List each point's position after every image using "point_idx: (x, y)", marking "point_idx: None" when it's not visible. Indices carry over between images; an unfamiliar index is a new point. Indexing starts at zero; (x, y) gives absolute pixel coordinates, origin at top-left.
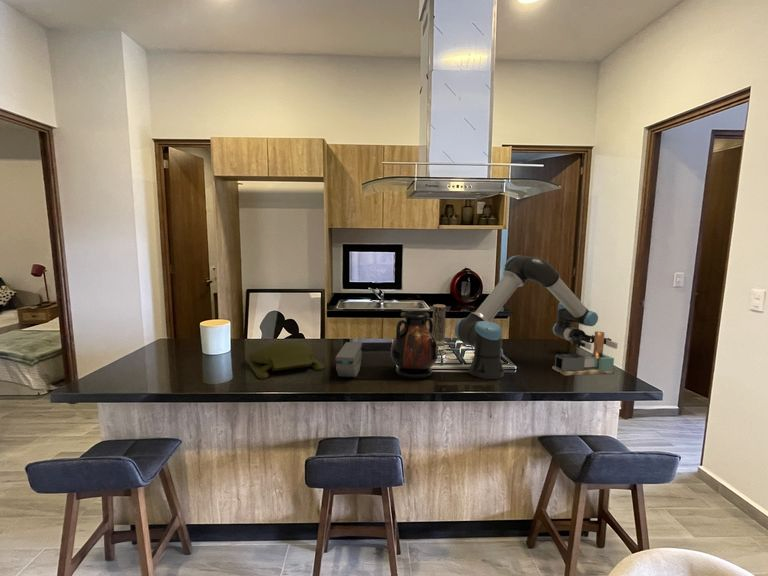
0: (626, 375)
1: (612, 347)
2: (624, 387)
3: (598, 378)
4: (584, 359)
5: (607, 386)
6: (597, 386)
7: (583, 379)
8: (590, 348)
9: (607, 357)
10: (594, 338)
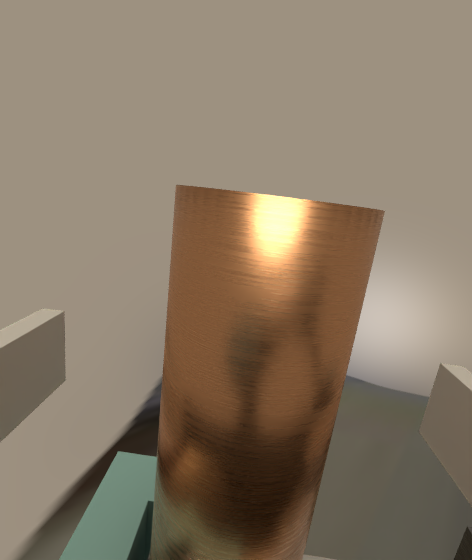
0: (82, 484)
1: (25, 415)
2: None
3: (329, 495)
4: (463, 546)
5: (338, 409)
6: (385, 419)
7: (443, 508)
8: (432, 417)
9: (154, 491)
10: (344, 374)
